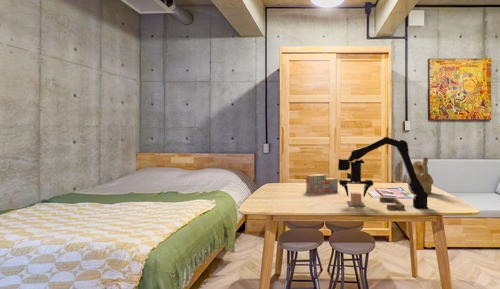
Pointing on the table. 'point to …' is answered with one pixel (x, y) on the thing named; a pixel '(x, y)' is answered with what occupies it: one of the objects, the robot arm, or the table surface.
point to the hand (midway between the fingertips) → (355, 196)
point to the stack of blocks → (320, 184)
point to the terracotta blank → (355, 198)
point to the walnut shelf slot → (392, 207)
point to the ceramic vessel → (422, 175)
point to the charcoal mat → (355, 205)
